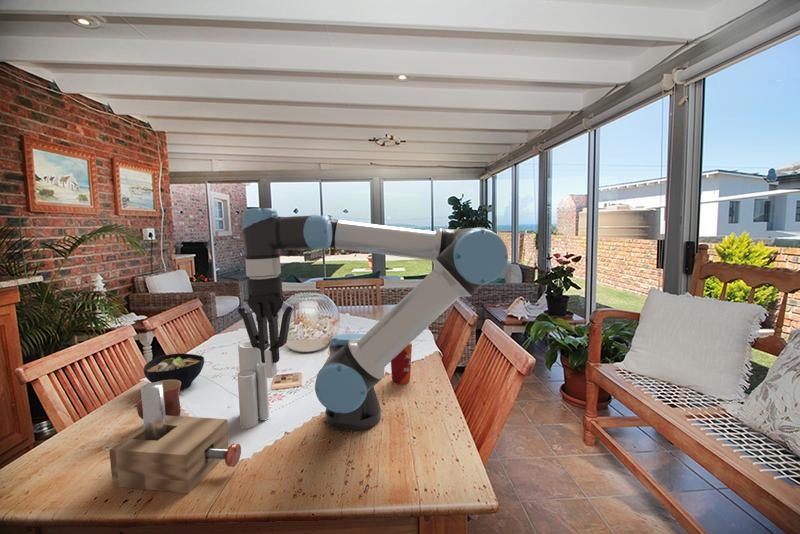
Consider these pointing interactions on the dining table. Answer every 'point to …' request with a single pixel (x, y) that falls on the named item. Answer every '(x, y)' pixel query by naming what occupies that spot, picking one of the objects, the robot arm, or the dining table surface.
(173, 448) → the dock
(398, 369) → the coffee cup
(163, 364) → the bowl
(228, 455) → the lock pin
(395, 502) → the dining table surface
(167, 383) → the mug
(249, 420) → the vase
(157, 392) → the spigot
